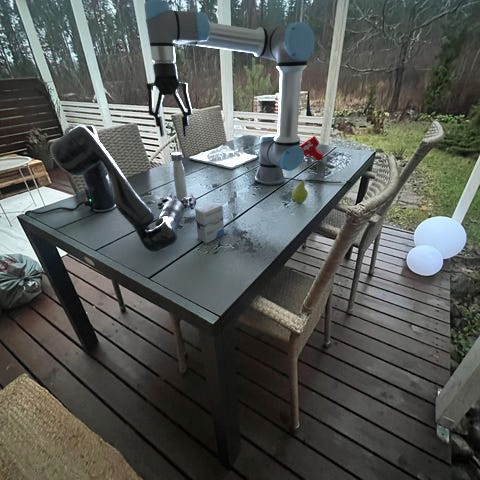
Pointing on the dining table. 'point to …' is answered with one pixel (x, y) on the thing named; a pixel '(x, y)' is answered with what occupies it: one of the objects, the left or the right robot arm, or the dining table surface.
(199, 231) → the ink box
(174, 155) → the cap
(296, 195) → the fruit
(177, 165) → the bottle
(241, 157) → the relief map
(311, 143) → the toy gun
